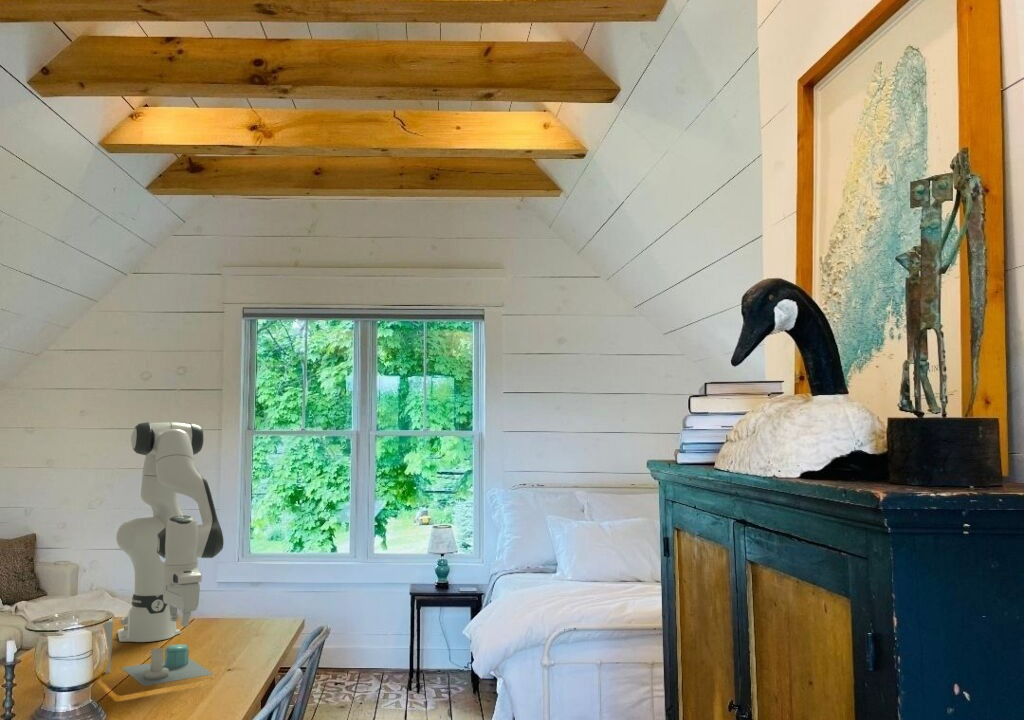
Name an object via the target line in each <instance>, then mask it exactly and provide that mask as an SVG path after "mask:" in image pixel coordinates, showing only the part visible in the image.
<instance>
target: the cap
mask: <svg viewBox="0 0 1024 720" xmlns="http://www.w3.org/2000/svg"><path fill="white" fill-rule="evenodd" d="M189 651H190V649H189V645H188V644H181V643H179V644H171V645H167V646H166V648H165V650H164V661H165V664H164V665H165V666H166V667H180V666H185V665H187V664H188V658H190V657H189Z"/></svg>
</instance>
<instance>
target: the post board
mask: <svg viewBox="0 0 1024 720" xmlns="http://www.w3.org/2000/svg"><path fill="white" fill-rule="evenodd" d="M164 664H165V660H164V648H161V647H158V648H153V649H151V651H150V663H149V662H148V663H143V664H141V663H140V664H136V665H130V666H124V667H121V669H122V670H123V671H124V672H126V673H127V674H128V675H129V676H130V677H132V678H133V679H134V680H136V682H137V683H139V684H140V685H141V686H142V687H149V686H154V685H159V684H165V683H171V682H177V681H182V680H188V679H193V678H194V679H195V678H200V677H205V676H209V675H211V676H213V675H214V673H213V672H212V671H210V670H208V669H207V668H205V667H203V666H202V665H201V664H199V663H198V662H196V661H195V660H192V658H190V657H188V664H187V665H185V666H180V667H166V666H165V665H164ZM213 679H214V678H213ZM196 682H197V681H196ZM184 684H185V685H186V684H187V683H184ZM174 686H176V685H173V687H174ZM156 689H157V690H158V688H156ZM146 691H148V690H146Z"/></svg>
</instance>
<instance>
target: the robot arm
mask: <svg viewBox="0 0 1024 720" xmlns="http://www.w3.org/2000/svg"><path fill="white" fill-rule="evenodd" d="M130 443H131V446H132V450H133V451H134V452H135V453H136V454H138V455H142V456H145V457H144V462H143V467H142V476H141V488H140V497H141V500H142V501H143V502H144V503H145V504H147V505H149V506H150V508H151V509H152V510H151V511H152V517H151V516H150V517H141V518H135V519H132V520H128V521H124V522H123V523H121V525H120V526H119V527H118V529H117V531H116V539H115V540H116V543H117V545H118V547H119V549H120V550H122V551H123V552H124V553H125V554H126V555H127V556H128V557H129V558H130V560H131V563H132V565H133V569H134V593H133V594H132V598H131V607H130V609H129V610H128V612H127V614H125V615H126V616H124V617H121V618H120V624H121V626H124V627H123V628H120V629H118V630H117V637H118V641H119V642H121V643H122V642H129V643H130V642H131V643H132V642H135V643H146V642H147V643H149V642H156V641H162V640H167V639H171V638H173V637H174V636H177V635H179V634H181V629H178V628H177V621H178V620H179V614H178V610H180V611H181V614H182V616H181V619H180V626H181V627H183V628H184V627H188V626H189V625H190V618H191V615H192V612H196V611H197V610H198V607H199V604H200V603H199V601H200V583H201V582H202V579H203V577H202V573H201V572H200V570H199V567H198V558H201V559H213V558H215V557H216V556H217V555H218V554H219V553H221V551H222V550H223V548H224V544H225V543H224V542H225V538H224V533H223V530H222V528H221V525H220V524H221V523H220V522H219V519H218V516H217V511H216V507H215V504H214V500H213V497H212V496H213V495H212V492H211V489H210V486H209V482H208V480H207V479H206V477H205V476H203V475H201V474H200V473H199V471H198V470H197V469H196V467H195V461H194V460H195V459H194V458H195V457H194V455H197V454H198V453H200V452H201V451H202V449H203V445H204V444H205V433H204V430H203V428H202V427H201V425H198V424H196V423H191V422H190V423H185V422H176V421H169V422H165V421H164V422H163V421H162V422H148V421H147V422H141V423H138V424H137V425H135V427H134V429H133V431H132V432H131V436H130ZM178 494H180V495H183V496H187V497H188V498H191V499H193V501H195V502H196V504H197V506H198V510H199V514H200V518H201V521H202V524H198V522H197V521H198V520H197V518H195V517H194V516H191V515H184V513H183V512H182V510H181V508H180V505H179V504H180V503H179V499H178ZM161 557H162V558H163V559H164V560H165V561H162V558H161Z"/></svg>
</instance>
